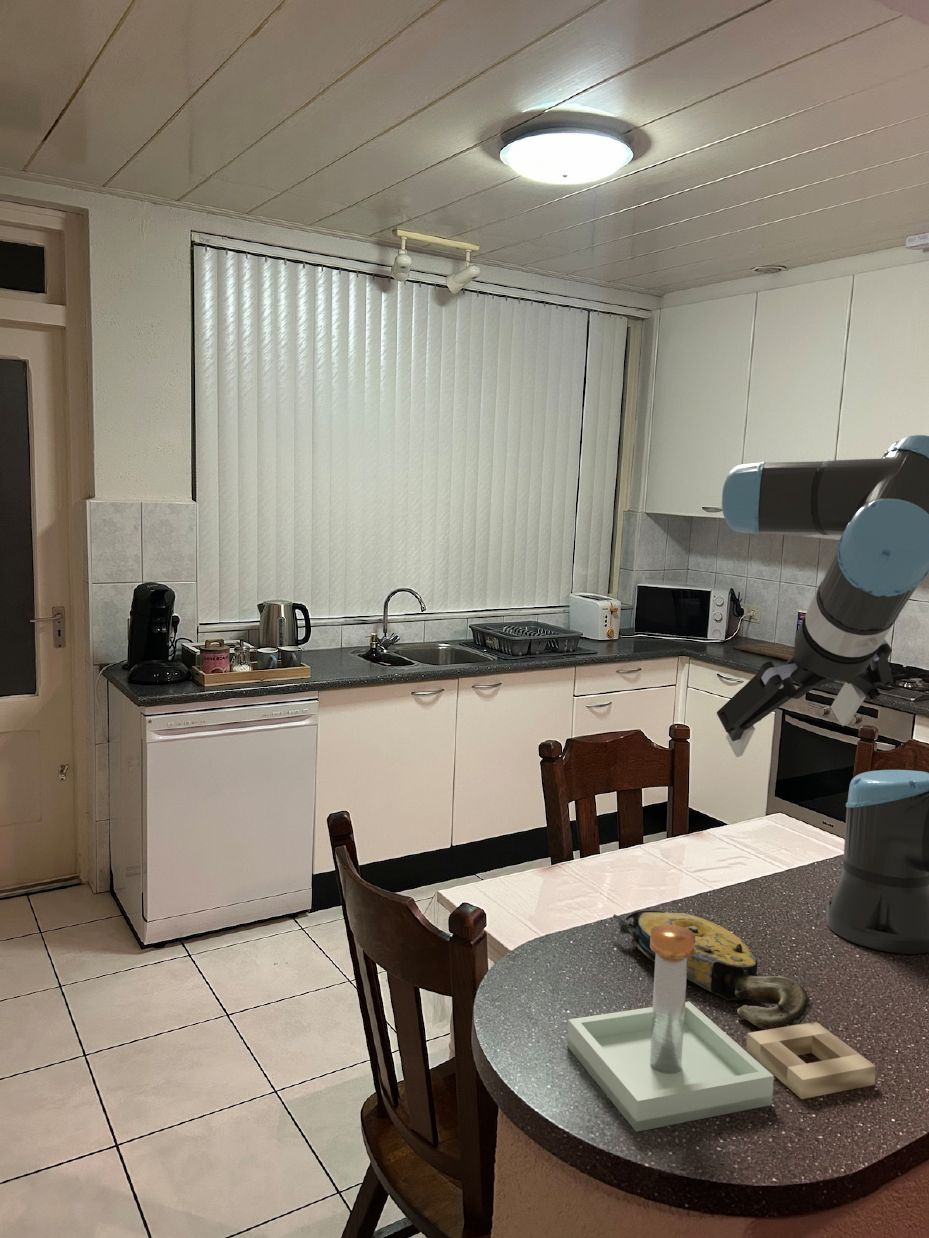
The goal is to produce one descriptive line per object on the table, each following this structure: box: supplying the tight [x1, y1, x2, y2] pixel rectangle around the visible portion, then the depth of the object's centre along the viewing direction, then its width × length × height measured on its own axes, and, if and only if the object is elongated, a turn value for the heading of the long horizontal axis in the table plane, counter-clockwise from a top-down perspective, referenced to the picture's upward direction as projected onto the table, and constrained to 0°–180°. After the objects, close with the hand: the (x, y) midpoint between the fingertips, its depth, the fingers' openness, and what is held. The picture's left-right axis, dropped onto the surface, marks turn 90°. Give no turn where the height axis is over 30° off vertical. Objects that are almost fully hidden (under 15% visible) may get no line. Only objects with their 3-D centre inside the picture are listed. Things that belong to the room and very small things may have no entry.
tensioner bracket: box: [745, 1021, 876, 1100], centre depth 97 cm, size 9×9×2 cm
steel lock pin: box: [650, 924, 695, 1074], centre depth 94 cm, size 4×4×14 cm
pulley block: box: [612, 909, 815, 1031], centre depth 116 cm, size 14×6×30 cm
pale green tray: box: [566, 1001, 775, 1133], centre depth 95 cm, size 15×15×3 cm
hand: (786, 731), depth 108 cm, fingers open, 13 cm apart
